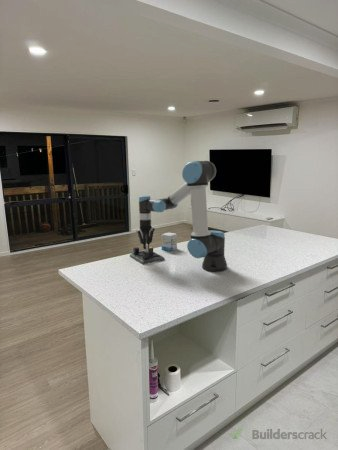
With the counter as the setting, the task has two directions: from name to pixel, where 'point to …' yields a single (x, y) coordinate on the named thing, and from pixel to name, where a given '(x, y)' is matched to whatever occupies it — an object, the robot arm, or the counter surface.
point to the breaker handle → (150, 250)
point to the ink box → (169, 241)
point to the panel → (151, 257)
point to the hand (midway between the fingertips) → (146, 253)
